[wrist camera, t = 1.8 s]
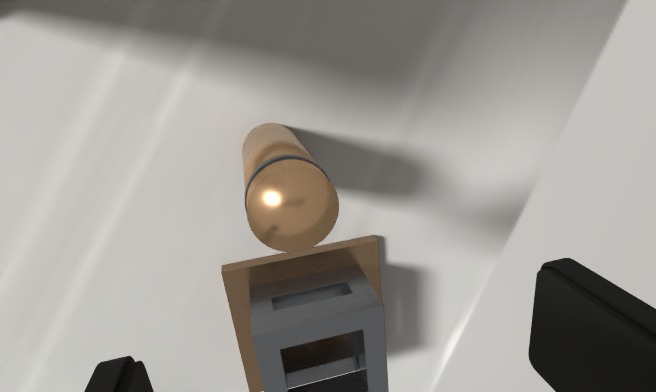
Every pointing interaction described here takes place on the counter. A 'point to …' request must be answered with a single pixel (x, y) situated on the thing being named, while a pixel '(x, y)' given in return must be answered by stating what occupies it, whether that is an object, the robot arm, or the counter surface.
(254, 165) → the copper tube
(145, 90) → the counter surface
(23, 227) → the counter surface
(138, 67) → the counter surface
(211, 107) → the counter surface
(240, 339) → the collar stand
